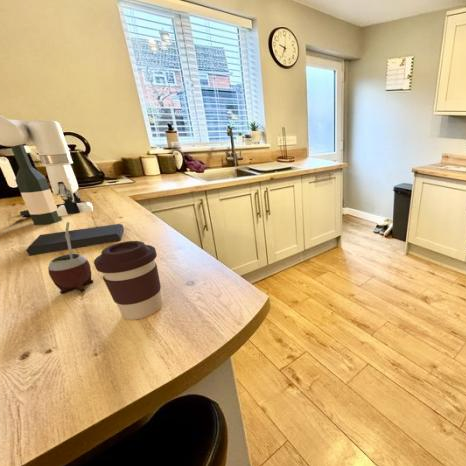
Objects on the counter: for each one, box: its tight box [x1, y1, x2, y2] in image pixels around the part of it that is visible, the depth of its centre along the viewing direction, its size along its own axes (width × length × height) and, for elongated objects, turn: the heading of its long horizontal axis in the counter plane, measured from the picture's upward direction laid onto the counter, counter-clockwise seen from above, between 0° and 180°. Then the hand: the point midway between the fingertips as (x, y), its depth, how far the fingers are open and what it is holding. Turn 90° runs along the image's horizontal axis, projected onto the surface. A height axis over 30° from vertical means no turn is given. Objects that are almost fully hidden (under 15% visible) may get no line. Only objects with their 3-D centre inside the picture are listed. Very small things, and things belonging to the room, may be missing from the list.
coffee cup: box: [93, 240, 163, 321], centre depth 59 cm, size 10×10×15 cm
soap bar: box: [57, 201, 94, 217], centre depth 103 cm, size 5×9×3 cm, turn 129°
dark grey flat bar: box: [26, 223, 125, 257], centre depth 95 cm, size 22×12×2 cm, turn 122°
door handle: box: [19, 200, 86, 219], centre depth 124 cm, size 3×20×16 cm
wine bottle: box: [10, 144, 63, 226], centre depth 107 cm, size 8×8×30 cm
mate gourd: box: [47, 221, 94, 295], centre depth 68 cm, size 8×8×15 cm
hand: (75, 210), depth 103 cm, fingers closed on soap bar, 5 cm apart
